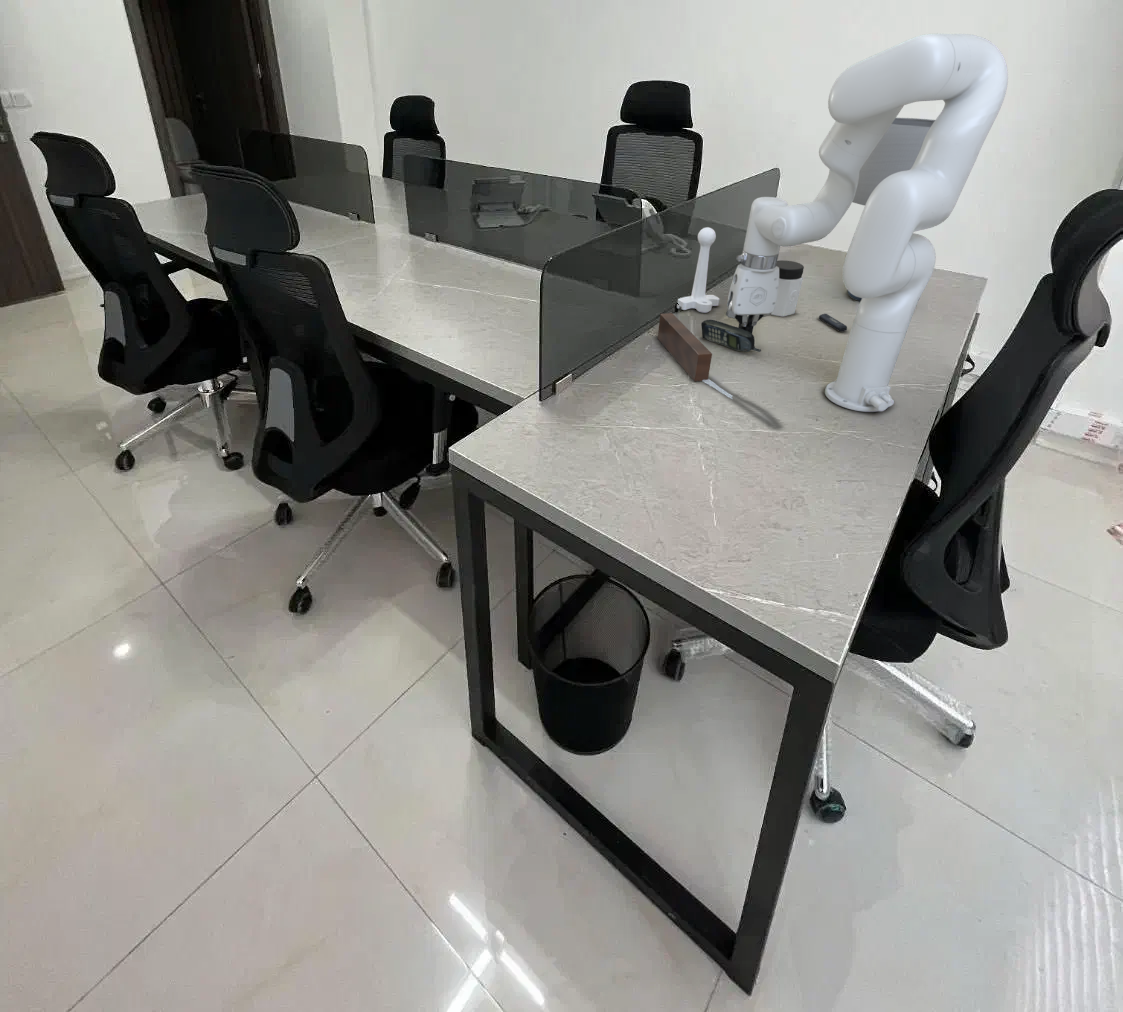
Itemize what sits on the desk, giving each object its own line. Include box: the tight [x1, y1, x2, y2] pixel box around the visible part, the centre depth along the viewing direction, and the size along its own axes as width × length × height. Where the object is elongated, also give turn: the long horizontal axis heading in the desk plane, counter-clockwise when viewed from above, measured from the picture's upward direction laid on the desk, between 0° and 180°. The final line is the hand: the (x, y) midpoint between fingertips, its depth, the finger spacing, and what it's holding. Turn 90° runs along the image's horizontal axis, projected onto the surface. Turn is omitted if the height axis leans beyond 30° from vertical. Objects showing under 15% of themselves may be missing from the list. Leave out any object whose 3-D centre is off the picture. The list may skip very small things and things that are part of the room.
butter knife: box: [701, 378, 734, 400], centre depth 132 cm, size 1×27×3 cm
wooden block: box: [657, 312, 713, 382], centre depth 145 cm, size 24×3×6 cm, turn 12°
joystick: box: [676, 226, 720, 314], centre depth 168 cm, size 11×8×20 cm
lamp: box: [846, 117, 936, 302], centre depth 171 cm, size 25×25×43 cm
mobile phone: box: [700, 319, 762, 353], centre depth 151 cm, size 5×3×15 cm
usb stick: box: [818, 313, 848, 333], centre depth 165 cm, size 10×3×2 cm, turn 15°
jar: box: [770, 259, 805, 317], centre depth 170 cm, size 9×8×12 cm
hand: (743, 340), depth 153 cm, fingers closed
